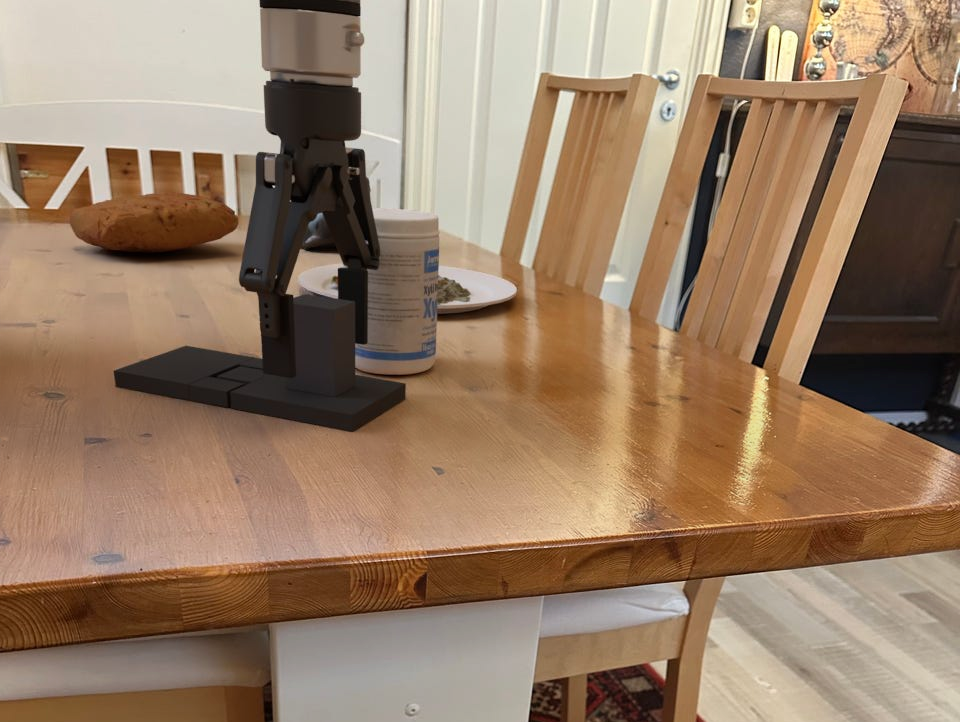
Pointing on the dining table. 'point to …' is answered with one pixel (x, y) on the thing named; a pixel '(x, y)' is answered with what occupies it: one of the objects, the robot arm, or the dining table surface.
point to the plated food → (454, 287)
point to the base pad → (187, 374)
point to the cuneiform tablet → (153, 222)
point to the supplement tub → (402, 295)
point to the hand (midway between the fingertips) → (318, 357)
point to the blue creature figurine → (320, 231)
